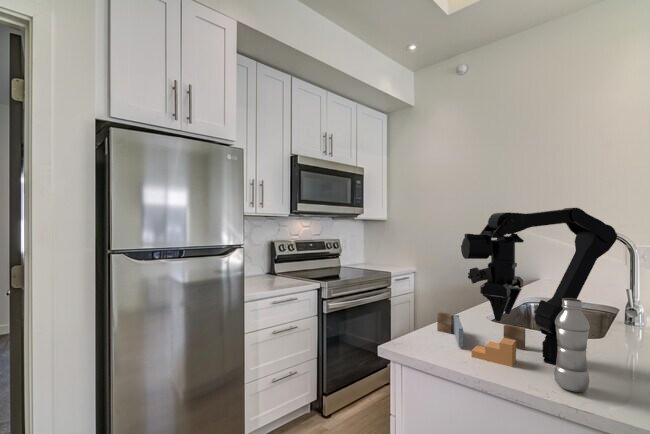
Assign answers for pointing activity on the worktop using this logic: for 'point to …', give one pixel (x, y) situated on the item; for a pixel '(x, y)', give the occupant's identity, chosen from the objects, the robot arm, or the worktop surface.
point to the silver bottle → (572, 347)
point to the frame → (509, 331)
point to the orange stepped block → (497, 352)
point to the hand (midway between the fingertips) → (502, 317)
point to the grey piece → (458, 330)
